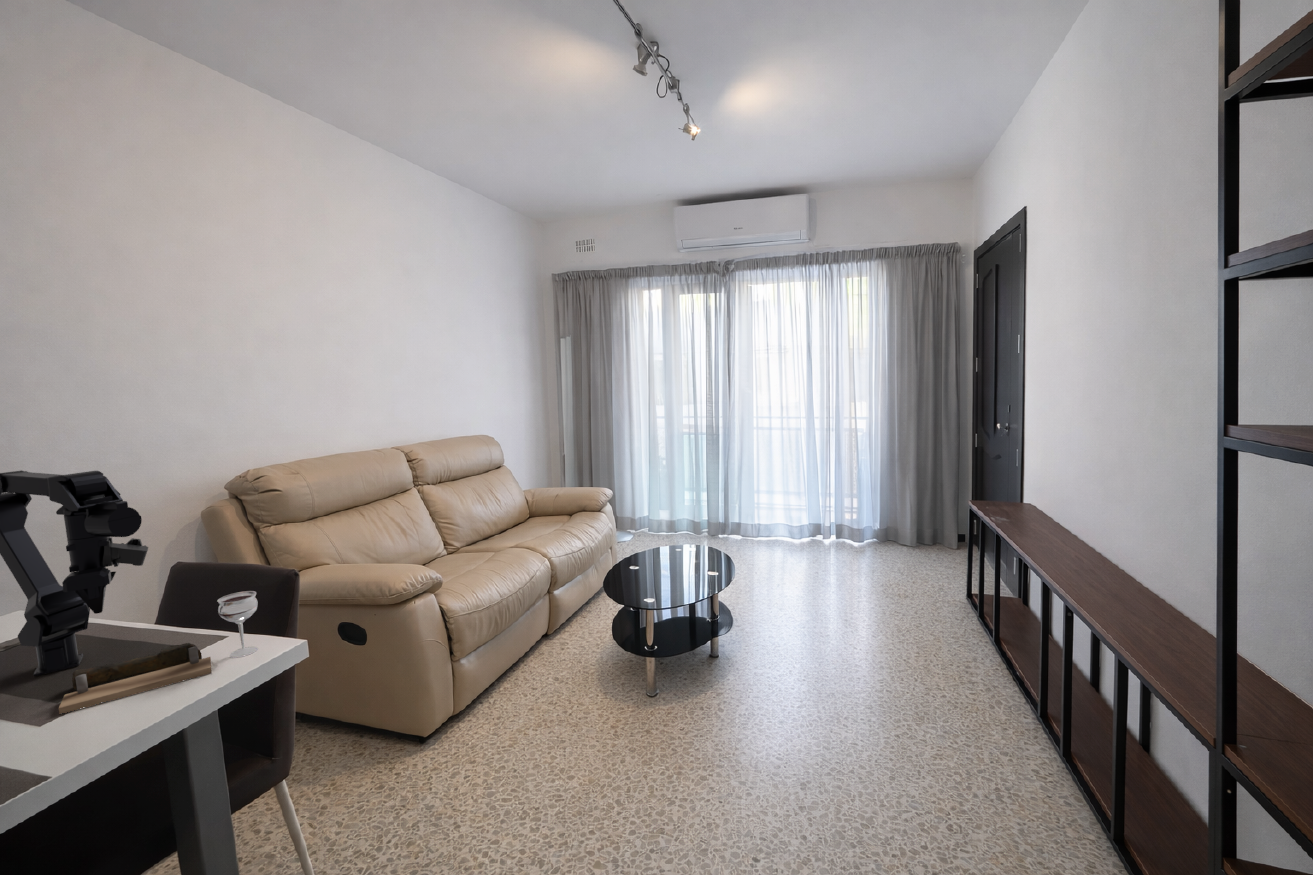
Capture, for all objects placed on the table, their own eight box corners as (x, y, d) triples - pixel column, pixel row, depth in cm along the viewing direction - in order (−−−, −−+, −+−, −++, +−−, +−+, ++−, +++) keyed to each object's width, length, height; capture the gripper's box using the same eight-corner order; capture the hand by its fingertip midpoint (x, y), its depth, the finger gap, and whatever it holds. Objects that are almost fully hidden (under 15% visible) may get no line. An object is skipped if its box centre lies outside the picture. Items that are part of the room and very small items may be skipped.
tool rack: (65, 700, 105) (62, 678, 105) (211, 662, 118) (208, 642, 118) (59, 714, 101) (56, 691, 100) (211, 673, 113) (209, 652, 113)
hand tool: (71, 695, 108) (67, 672, 107) (79, 686, 111) (76, 663, 111) (199, 668, 117) (196, 646, 116) (203, 660, 120) (200, 638, 120)
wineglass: (260, 654, 121) (253, 598, 120) (220, 662, 118) (213, 605, 117) (265, 641, 127) (259, 588, 126) (227, 649, 124) (221, 595, 123)
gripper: (138, 536, 112) (149, 614, 113) (145, 520, 126) (154, 590, 128) (56, 548, 105) (68, 631, 106) (73, 530, 119) (84, 604, 121)
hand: (98, 612), depth 115 cm, fingers closed
